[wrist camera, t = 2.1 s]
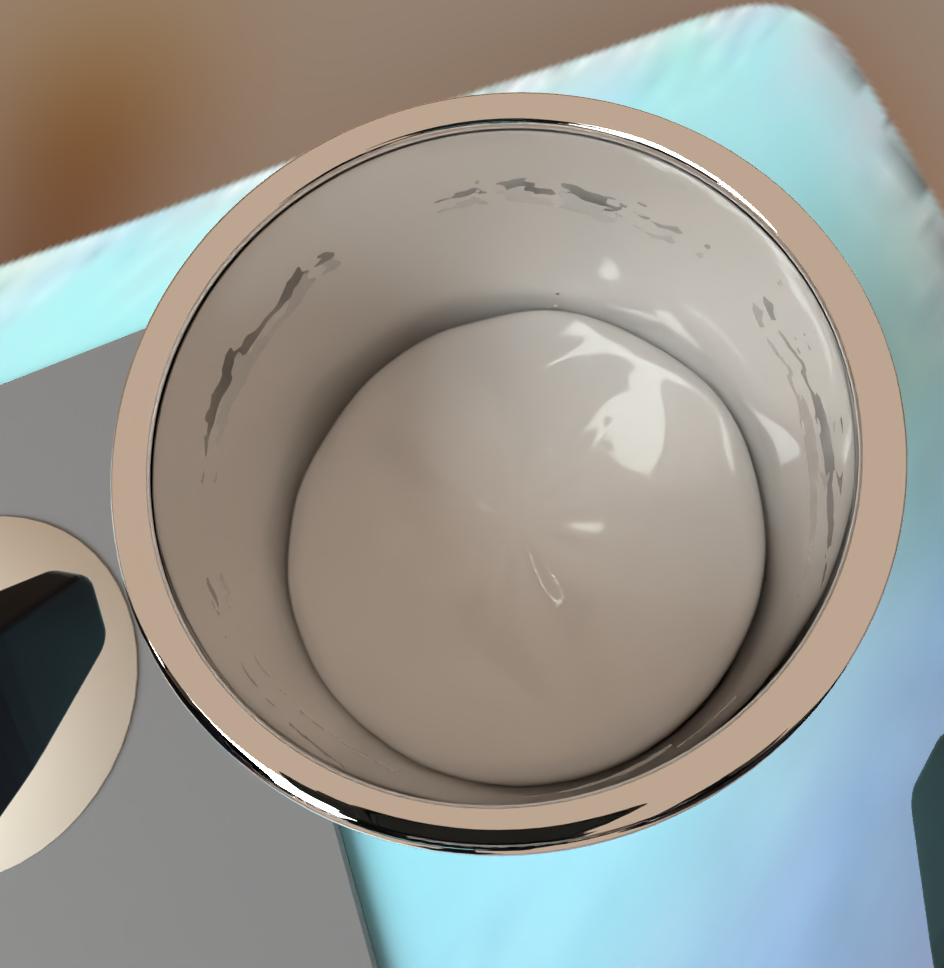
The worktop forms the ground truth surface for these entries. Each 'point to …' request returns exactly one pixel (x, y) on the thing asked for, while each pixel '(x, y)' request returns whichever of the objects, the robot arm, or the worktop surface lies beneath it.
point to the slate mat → (140, 753)
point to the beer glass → (508, 474)
